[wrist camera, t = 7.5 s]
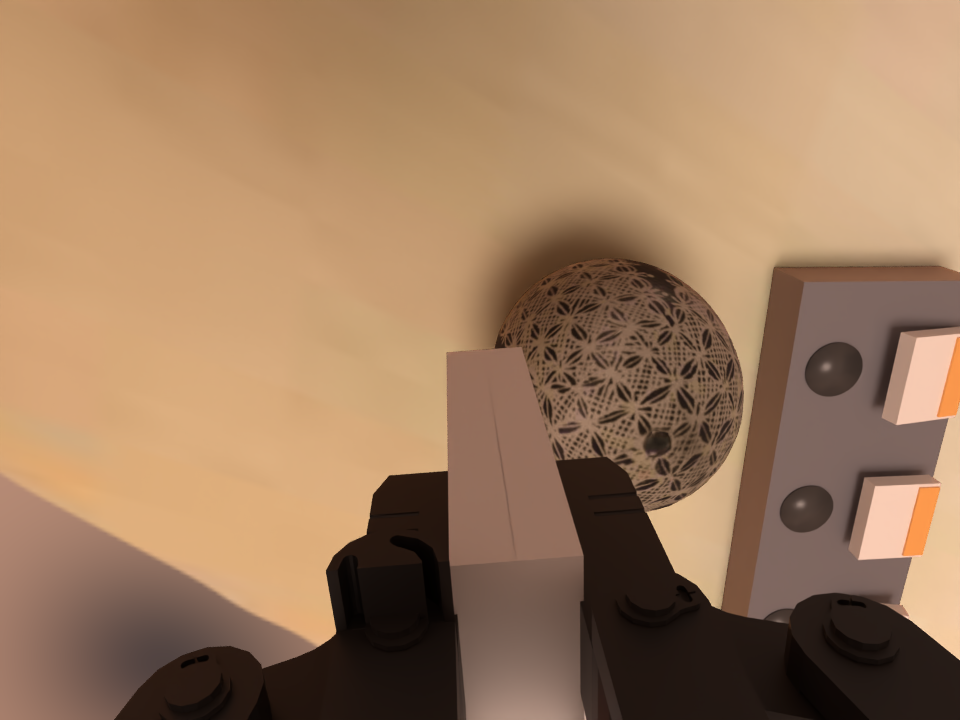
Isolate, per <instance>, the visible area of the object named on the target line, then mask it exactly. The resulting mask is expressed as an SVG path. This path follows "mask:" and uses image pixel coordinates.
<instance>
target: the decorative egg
mask: <svg viewBox="0 0 960 720" xmlns="http://www.w3.org/2000/svg"><path fill="white" fill-rule="evenodd" d="M514 347H522V350H523V354H524V357H525V361H526V364H527V367H528V371H529V374H530V377H531V381H532V384H533V387H534V391H535V394H536V398H537V401H538V404H539V408H540V411H541V414H542V418H543V421H544V424H545V428H546V431H547V434H548V438H549V441H550V445H551V448H552V451H553V455H554V458H555V461H556V460H569V459H582V458H595V457H608V458H609V459H611V460H612V461H613V462H614V463H616V464H617V465H618V466H620V467H621V468H622V469H624V470H625V471H626V472H627V473H628V475H629V477H630V479H631V481H632V483H633V485H634V487H635V489H636V491H637V496H639V498H640V500H641V502H642V504H643V506H644V509H645V512H648V511H652V510H657V509H661V508H664V507H667V506H670V505H672V504H674V503H676V502H678V501H680V500H682V499H684V498H685V497H687V496H689V495H691V494H692V493H694V492H695V491H696V490H698V489H699V488H700V487H701V486H703V485H704V484H705V483H706V482H707V481H708V480H709V479H710V478H711V477H712V476H713V475H714V474H715V473H716V472H717V470H718V469H719V468H720V466H721V465H722V464H723V462H724V461H725V459H726V458H727V456H728V454H729V452H730V450H731V448H732V446H733V444H734V442H735V439H736V437H737V434H738V431H739V428H740V424H741V420H742V413H743V398H744V391H743V377H742V372H741V367H740V363H739V360H738V357H737V353H736V350H735V349H734V346H733V343H732V341H731V339H730V337H729V335H728V333H727V331H726V329H725V327H724V325H723V323H722V322H721V320H720V319H719V317H718V316H717V314H716V313H715V312H714V310H713V309H712V308H711V307H710V305H709V304H708V303H707V302H706V301H705V300H704V299H703V298H702V297H701V296H700V295H699V294H698V293H697V292H696V291H694V290H693V289H692V288H691V287H689V286H688V285H687V284H685V283H684V282H682V281H681V280H680V279H678V278H676V277H675V276H673V275H672V274H670V273H668V272H666V271H663V270H661V269H659V268H657V267H654V266H651V265H648V264H645V263H641V262H636V261H631V260H625V259H594V260H589V261H584V262H579V263H575V264H572V265H569V266H566V267H564V268H561V269H559V270H557V271H555V272H553V273H551V274H550V275H548V276H546V277H544V278H542V279H541V280H540V281H539V282H538V283H536V284H535V285H533V286H532V287H531V288H530V289H529V290H528V291H527V292H526V293H525V294H524V295H523V296H522V297H521V298H520V299H519V301H518V302H517V303H516V304H515V305H514V307H513V309H512V310H511V312H510V313H509V315H508V316H507V318H506V320H505V322H504V324H503V326H502V328H501V330H500V332H499V335H498V338H497V341H496V345H495V349H500V348H514Z"/></svg>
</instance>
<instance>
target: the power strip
mask: <svg viewBox="0 0 960 720" xmlns="http://www.w3.org/2000/svg"><path fill="white" fill-rule="evenodd" d="M951 327H960V272H957V271H953V270H950V269H947V268H944V267H941V266H921V267H802V268H774V272H773V279H772V285H771V292H770V298H769V305H768V311H767V318H766V324H765V331H764V337H763V344H762V350H761V357H760V363H759V370H758V376H757V383H756V389H755V396H754V402H753V409H752V415H751V422H750V428H749V435H748V441H747V447H746V454H745V460H744V467H743V473H742V480H741V486H740V493H739V499H738V506H737V512H736V519H735V525H734V532H733V538H732V545H731V551H730V558H729V564H728V571H727V577H726V584H725V590H724V597H723V603H722V611H725V612H727V613H731V614H736V615H740V616H744V617H749V618H756V619H762V620H768V621H775V622H781V623H787V624H789V617H790V615H791V614H792V612H793V610H794V608H795V606H796V605H797V603H799V602H801V601H803V600H805V599H807V598H808V597H810V596H812V595H818V594H827V593H842V594H849V595H856V596H862V597H864V598H867V599H870V600H873V601H875V602H878V603H885V604H895V605H899V604H900V600H901V597H902V593H903V589H904V585H905V581H906V578H907V574H908V570H909V566H910V562H911V559H912V557H904V558H885V559H867V560H858V559H857V558H856V557H855V556H854V555H853V554H852V553H851V552H850V551H849V550H848V549H849V544H850V540H851V535H852V531H853V527H854V522H855V518H856V513H857V509H858V504H859V500H860V495H861V491H862V486H863V482H864V477H886V476H909V475H930V476H932V477H933V475H934V471H935V467H936V464H937V460H938V456H939V452H940V448H941V445H942V441H943V437H944V433H945V429H946V426H947V422H948V418H945V419H938V420H930V421H923V422H916V423H908V424H901V425H895V424H893V423H891V422H889V421H887V420H885V419H883V418H882V414H883V409H884V405H885V401H886V396H887V392H888V387H889V383H890V378H891V374H892V370H893V365H894V361H895V356H896V352H897V347H898V343H899V339H900V334H901V332H908V331H919V330H930V329H940V328H951Z"/></svg>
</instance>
